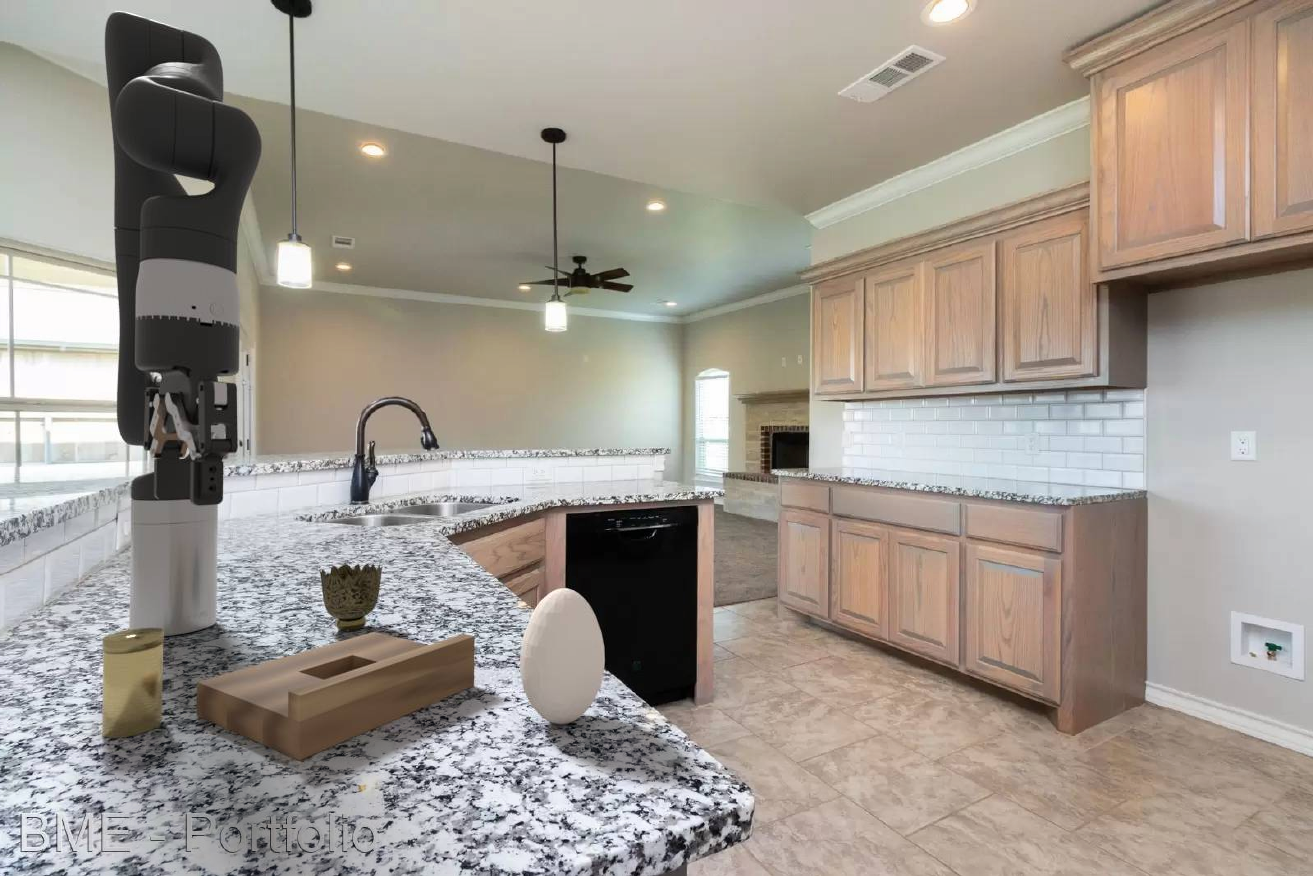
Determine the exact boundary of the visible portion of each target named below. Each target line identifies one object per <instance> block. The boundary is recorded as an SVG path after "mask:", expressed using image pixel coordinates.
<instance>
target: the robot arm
mask: <svg viewBox="0 0 1313 876" xmlns="http://www.w3.org/2000/svg"><path fill="white" fill-rule="evenodd" d="M104 53H105V54H104V57H105V71H106V79H107V88H108V90H107V91H108V101H109V110H110V120H111V129H112V130H111V131H112V141H113V142H112V144H113V158H114V160H113V161H114V191H113V192H114V197H113V199H114V200H113V201H114V202H113V203H114V204H113V205H114V208H113V211H114V213H113V216H114V217H113V222H114V224H113V225H114V226H113V227H114V229H113V230H114V232H113V233H114V255H115V256H114V257H115V271H116V282H117V299H118V314H119V315H118V317H119V319H118V320H119V341H118V342H119V343H118V366H117V388H116V422H117V427H118V431H119V435H120V436H121V439H122V440H123V441H124V442H125V443H126V444H128V445H130V446H137V447H138V446H139V447H143V450H144V451H146V452H147V451H149V454H150V457H151V459H154V461H153V470H154V471H151V472H147V473H144V474H141V475H138V476H136V477H134V478H133V479H132V482H131V486H130V498H131V499H130V563H129V564H130V566H129V567H130V570H129V574H130V575H129V581H130V582H129V622H128V623H129V627H128V628H129V629H128V630H131V629H139V628H161V629H163V630H164V637H167V636H168V637H169V636H170V637H171V636H176V635H182V634H183V635H184V634H188V633H192V632H196V631H200V630H203V629H208V628H210V627H211V626H213V625H215V624H216V623H217V608H218V607H217V606H218V605H217V603H218V600H217V599H218V598H217V597H218V540H219V539H218V534H219V533H218V528H219V525H218V524H219V521H218V520H219V518H218V515H219V505H220V504H221V503H222V502H223V500H224V460H225V461H226V460H228V458H229V456H230V455H229V454H235V453H237V451H238V448H239V443H238V442H239V441H238V437H239V435H238V386H237V384H236V383H235V382H225V381H219V378H221V377H233V376H236V375H237V374H238V373H239V372H240V329H241V327H240V325H241V322H240V319H241V314H240V312H241V311H240V309H241V304H240V302H241V301H240V300H241V299H240V291H239V285H238V276H237V275H238V237H239V235H238V234H239V224H240V221H241V215H242V211H243V207H244V203H245V201H246V196H247V194H248V191H249V189H250V187H251V184H252V181H253V178H254V176H255V173H256V171H257V169H258V166H259V162H260V158H261V156H262V145H263V144H262V138H261V137H262V136H261V134H260V132H259V129H258V127H257V125H256V123H255V122H254V120H253V119H252V118H251V116H250V115H248V113H246V112H245V111H243V110H242V109H241V108H238V107H236V106H234V105H231V104H227V103H225V102H224V71H223V64H222V59H221V57H220V54H219V51H218V50H217V48H216V47H215V45H214V44H213V43H212V42H211V41H210V40H208V39H207V38H205V37H204V36H202V35H200V34H197V33H195V32H193V31H190V30H186V29H184V28H182V29H181V28H180V27H177V26H174V25H171V24H167V23H164V22H160V21H157V20H154V19H152V18H151V19H150V18H147V17H144V16H140V15H137V14H134V13H130V12H127V11H121V10H115V11H113V12H111V13H110V14H109V16H108V18H107V20H106V23H105V30H104ZM176 175H178V176H183V177H185V178H186V177H187V178H190V179H194V180H201V181H205V182H209V183H212V184H214V187H213V188H212V189H211V190H209V191H208V192H206V193H202V194H200V193H199V194H190V195H189V194H188V192H187V191H186V189H185V188H184V187H183V184H182V183H181V182H180V181H179V180H178V178H177V177H176ZM151 373H155V374H157V373H158V374H159V375H152V374H151ZM218 377H219V378H218ZM187 451H188V452H189V453H188V454H187Z"/></svg>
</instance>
